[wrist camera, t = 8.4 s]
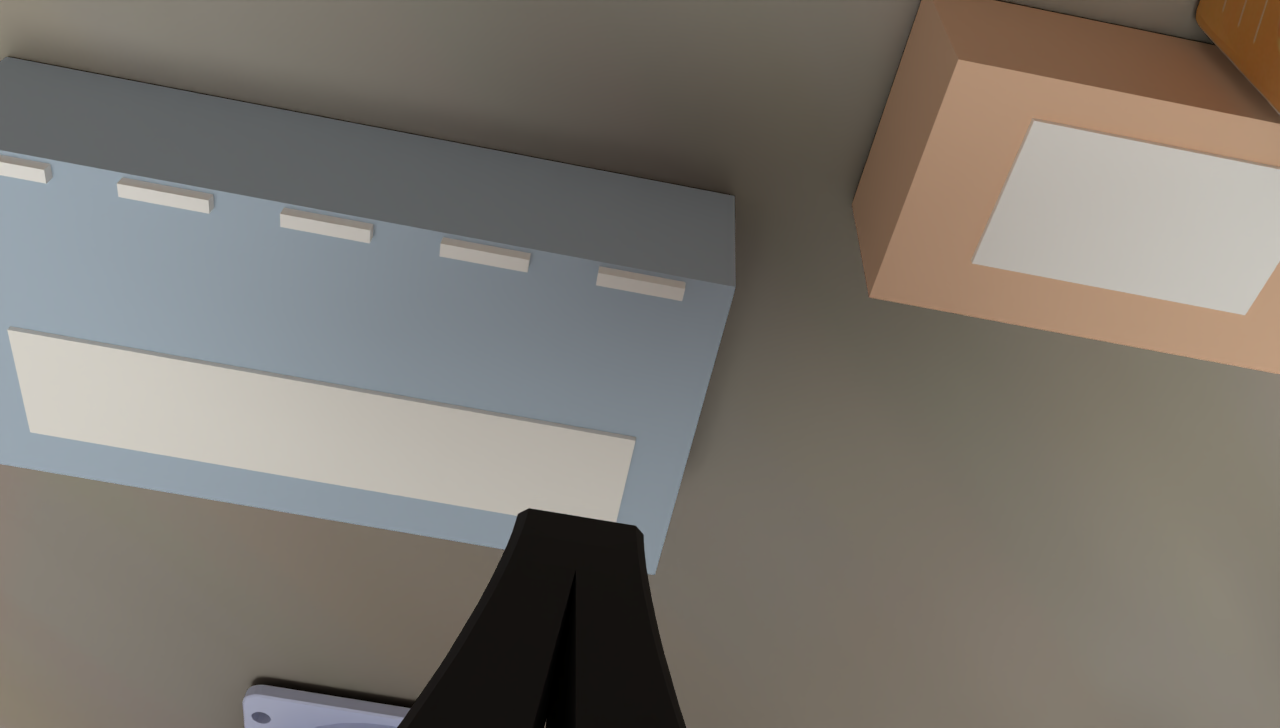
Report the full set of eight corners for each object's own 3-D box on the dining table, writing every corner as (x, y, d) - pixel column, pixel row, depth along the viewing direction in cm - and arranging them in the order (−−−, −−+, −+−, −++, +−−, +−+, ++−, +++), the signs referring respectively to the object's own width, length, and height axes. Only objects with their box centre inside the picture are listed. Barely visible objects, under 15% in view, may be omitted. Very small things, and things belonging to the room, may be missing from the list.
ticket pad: (661, 471, 24) (654, 582, 21) (64, 366, 23) (-17, 469, 21) (734, 195, 20) (735, 293, 17) (5, 56, 19) (-105, 137, 16)
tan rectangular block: (1220, 275, 20) (1290, 380, 18) (852, 204, 20) (869, 300, 17) (1344, 71, 18) (1444, 159, 15) (926, -15, 17) (959, 61, 15)
